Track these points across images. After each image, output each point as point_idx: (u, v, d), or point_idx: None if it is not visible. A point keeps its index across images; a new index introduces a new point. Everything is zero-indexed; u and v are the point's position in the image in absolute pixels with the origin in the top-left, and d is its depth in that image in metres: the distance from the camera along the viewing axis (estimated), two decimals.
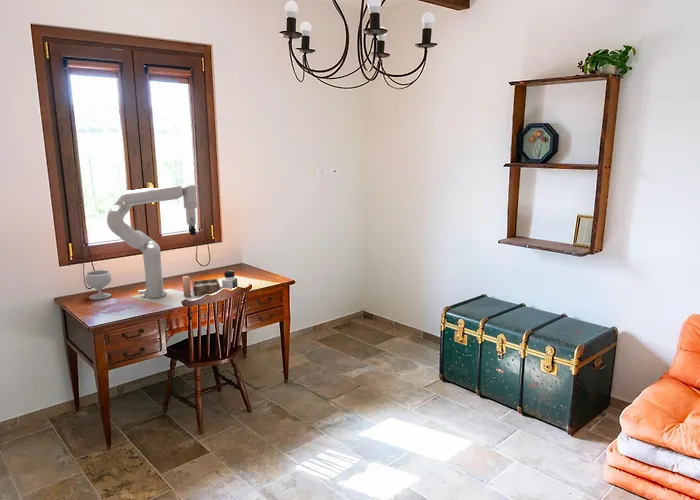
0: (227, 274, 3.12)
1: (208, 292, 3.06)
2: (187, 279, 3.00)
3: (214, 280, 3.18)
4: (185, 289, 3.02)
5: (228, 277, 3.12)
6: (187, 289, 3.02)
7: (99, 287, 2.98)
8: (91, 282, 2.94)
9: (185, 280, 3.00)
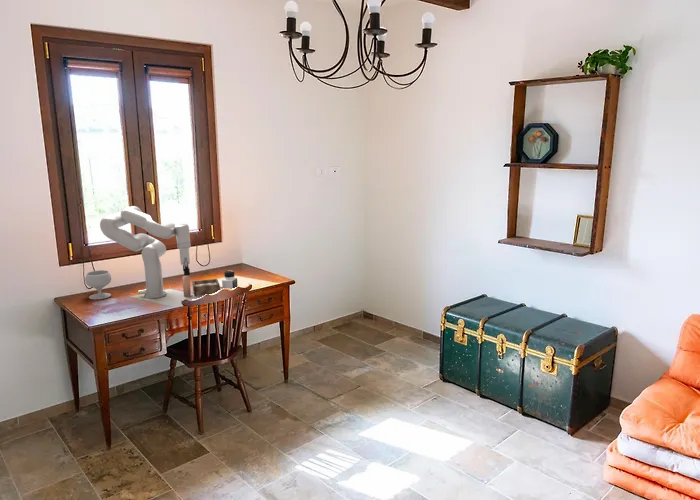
0: (227, 274, 3.12)
1: (208, 292, 3.06)
2: (187, 279, 3.00)
3: (214, 280, 3.18)
4: (185, 289, 3.02)
5: (228, 277, 3.12)
6: (187, 289, 3.02)
7: (99, 287, 2.98)
8: (91, 282, 2.94)
9: (185, 280, 3.00)
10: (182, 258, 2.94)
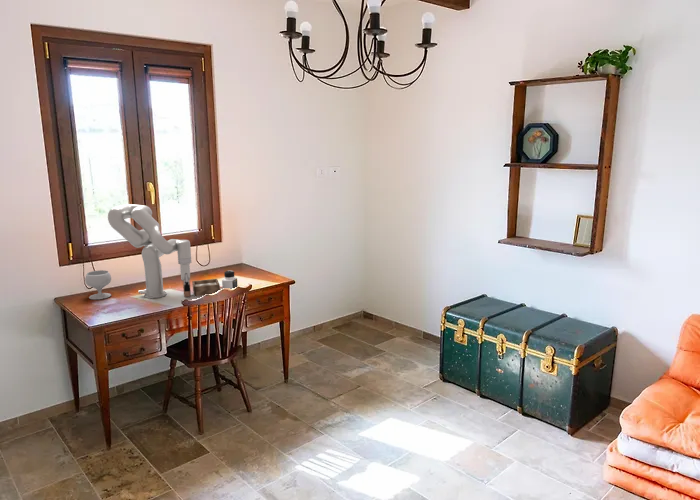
0: (227, 274, 3.12)
1: (208, 292, 3.06)
2: None
3: (214, 280, 3.18)
4: None
5: (228, 277, 3.12)
6: None
7: (99, 287, 2.98)
8: (91, 282, 2.94)
9: None
10: (183, 274, 2.96)
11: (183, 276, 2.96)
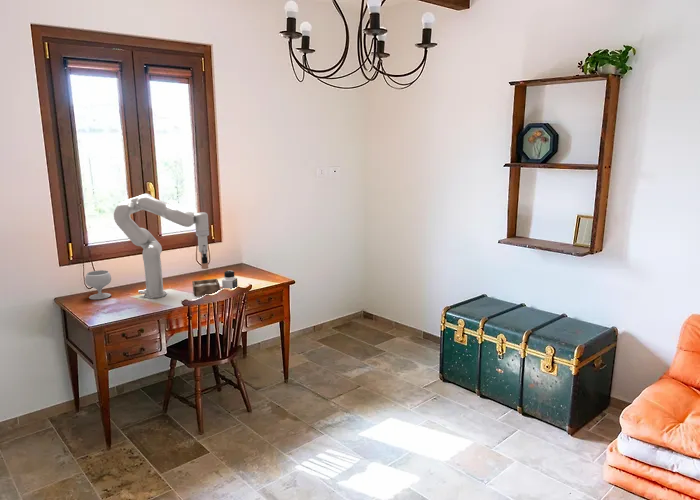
0: (227, 274, 3.12)
1: (208, 292, 3.06)
2: None
3: (214, 280, 3.18)
4: None
5: (228, 277, 3.12)
6: None
7: (99, 287, 2.98)
8: (91, 282, 2.94)
9: None
10: (201, 245, 3.00)
11: (201, 248, 3.01)
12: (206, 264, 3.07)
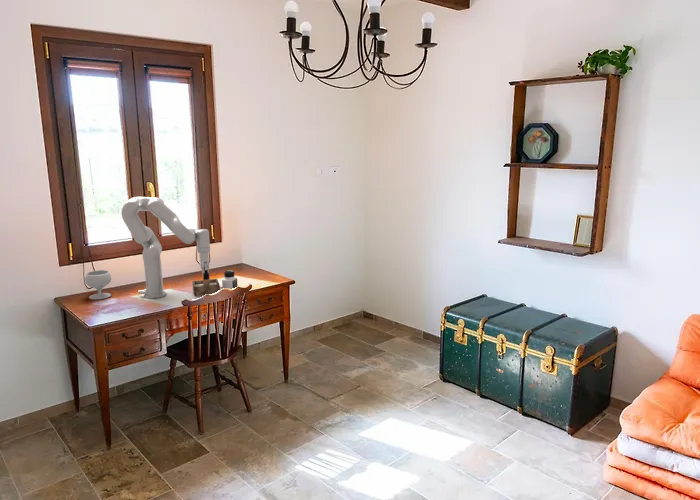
0: (227, 274, 3.12)
1: (208, 292, 3.06)
2: None
3: (214, 280, 3.18)
4: None
5: (228, 277, 3.12)
6: None
7: (99, 287, 2.98)
8: (91, 282, 2.94)
9: None
10: (202, 262, 3.03)
11: (202, 264, 3.03)
12: (208, 280, 3.09)
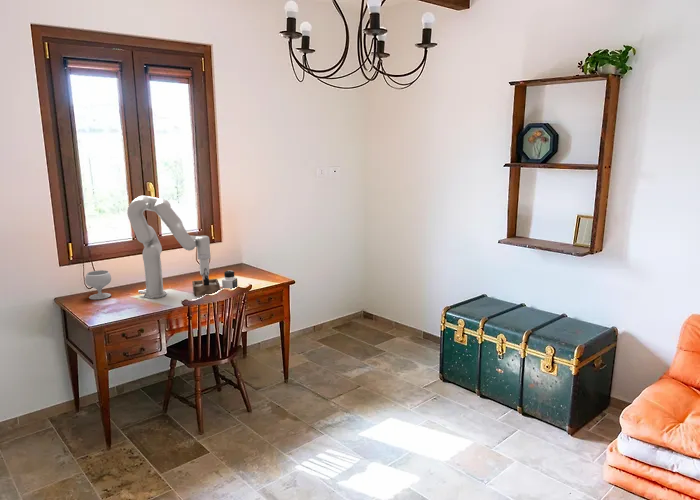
0: (227, 274, 3.12)
1: (208, 292, 3.06)
2: None
3: (214, 280, 3.18)
4: None
5: (228, 277, 3.12)
6: None
7: (99, 287, 2.98)
8: (91, 282, 2.94)
9: None
10: (202, 269, 3.04)
11: (203, 271, 3.04)
12: None
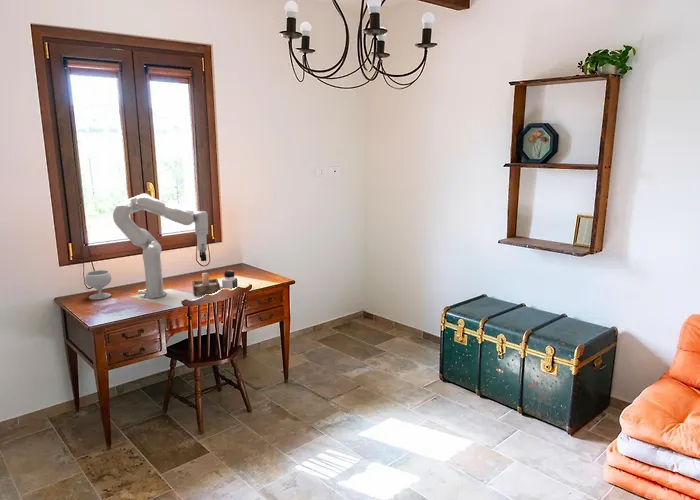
0: (227, 274, 3.12)
1: (208, 292, 3.06)
2: (206, 275, 3.08)
3: (214, 280, 3.18)
4: (204, 285, 3.09)
5: (228, 277, 3.12)
6: None
7: (99, 287, 2.98)
8: (91, 282, 2.94)
9: (204, 276, 3.08)
10: (199, 244, 3.01)
11: (200, 246, 3.01)
12: None
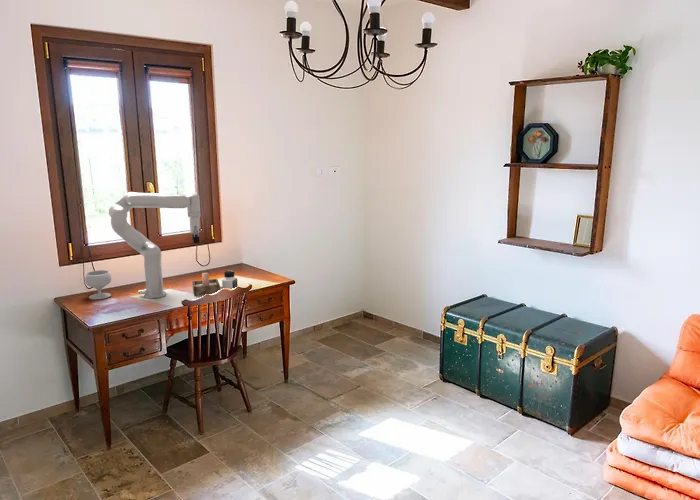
0: (227, 274, 3.12)
1: (208, 292, 3.06)
2: (206, 275, 3.08)
3: (214, 280, 3.18)
4: (204, 285, 3.09)
5: (228, 277, 3.12)
6: None
7: (99, 287, 2.98)
8: (91, 282, 2.94)
9: (204, 276, 3.08)
10: (192, 226, 3.06)
11: (192, 229, 3.06)
12: None
